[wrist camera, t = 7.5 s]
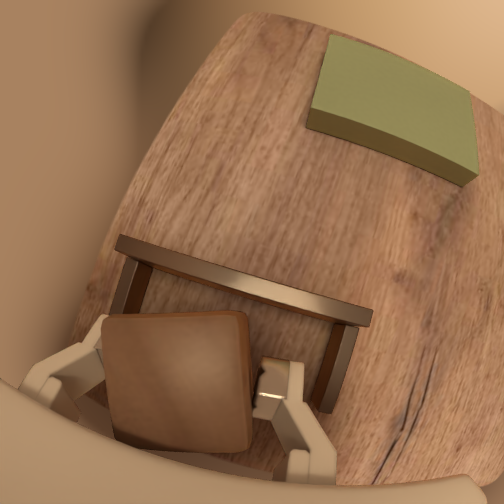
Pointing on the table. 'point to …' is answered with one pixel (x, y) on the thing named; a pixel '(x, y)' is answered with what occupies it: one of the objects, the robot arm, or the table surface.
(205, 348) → the wooden block
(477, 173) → the board
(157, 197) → the table surface
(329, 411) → the frame
